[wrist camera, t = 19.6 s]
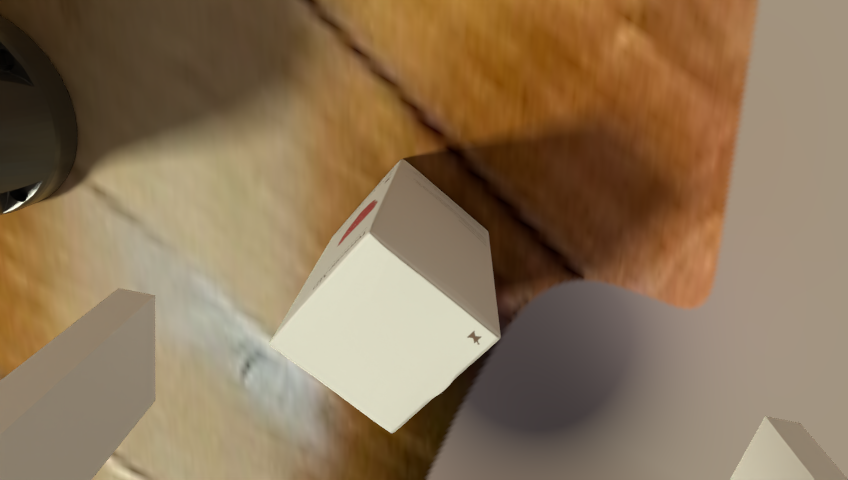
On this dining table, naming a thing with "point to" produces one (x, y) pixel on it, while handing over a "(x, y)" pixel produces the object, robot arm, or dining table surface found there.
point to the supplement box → (395, 301)
